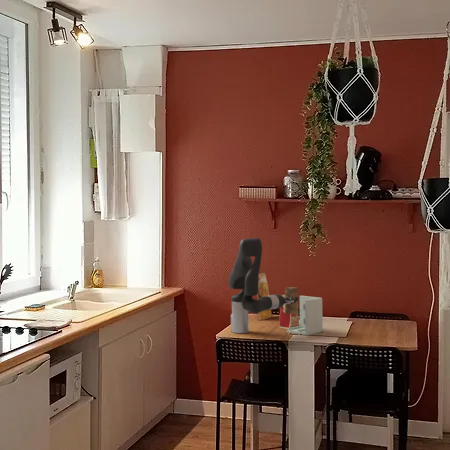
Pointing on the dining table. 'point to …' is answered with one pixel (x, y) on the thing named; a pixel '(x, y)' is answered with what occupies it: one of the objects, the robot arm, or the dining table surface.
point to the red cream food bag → (288, 319)
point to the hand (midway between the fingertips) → (294, 298)
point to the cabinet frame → (309, 316)
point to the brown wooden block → (291, 293)
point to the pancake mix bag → (263, 292)
